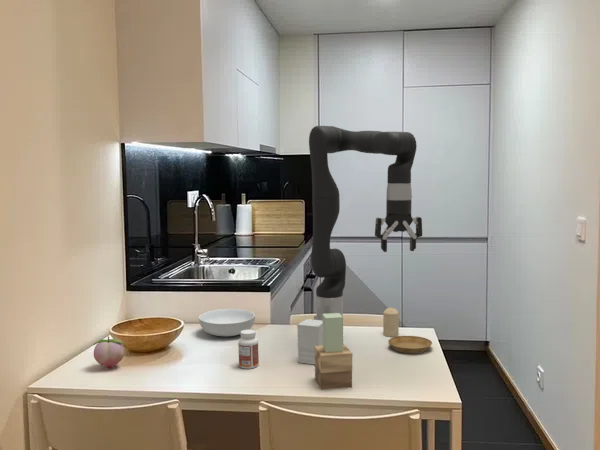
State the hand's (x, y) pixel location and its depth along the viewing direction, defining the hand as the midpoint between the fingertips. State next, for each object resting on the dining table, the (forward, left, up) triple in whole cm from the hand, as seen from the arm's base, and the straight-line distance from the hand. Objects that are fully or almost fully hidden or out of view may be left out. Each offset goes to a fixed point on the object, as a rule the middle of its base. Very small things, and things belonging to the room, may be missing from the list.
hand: (398, 251), depth 186 cm
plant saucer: (-5, +18, -37) cm, 41 cm away
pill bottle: (-37, -28, -36) cm, 59 cm away
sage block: (-8, -24, -26) cm, 36 cm away
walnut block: (-8, -24, -36) cm, 44 cm away
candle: (-18, +28, -36) cm, 49 cm away
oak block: (-8, -24, -31) cm, 40 cm away
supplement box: (-24, -12, -36) cm, 45 cm away
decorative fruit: (-71, -55, -36) cm, 97 cm away
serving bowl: (-68, -6, -36) cm, 77 cm away
